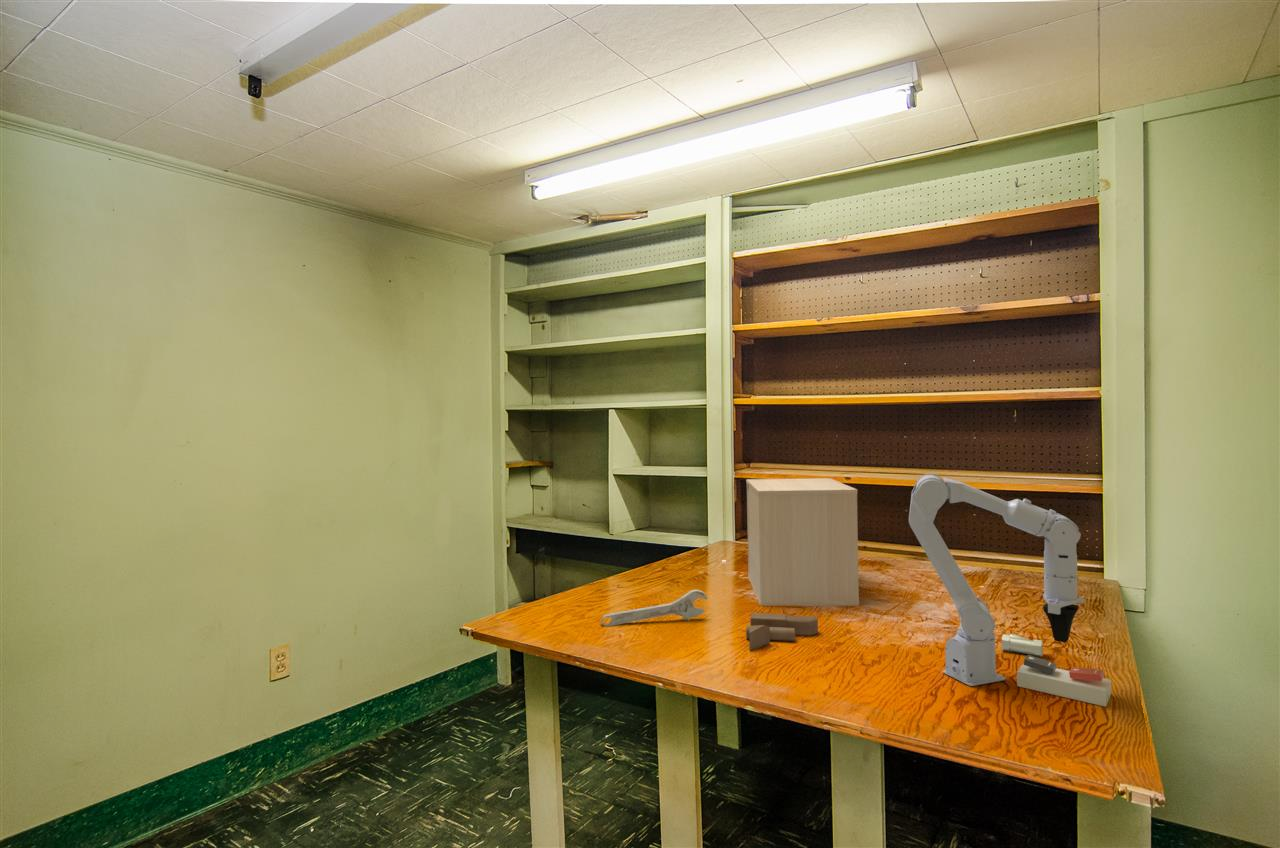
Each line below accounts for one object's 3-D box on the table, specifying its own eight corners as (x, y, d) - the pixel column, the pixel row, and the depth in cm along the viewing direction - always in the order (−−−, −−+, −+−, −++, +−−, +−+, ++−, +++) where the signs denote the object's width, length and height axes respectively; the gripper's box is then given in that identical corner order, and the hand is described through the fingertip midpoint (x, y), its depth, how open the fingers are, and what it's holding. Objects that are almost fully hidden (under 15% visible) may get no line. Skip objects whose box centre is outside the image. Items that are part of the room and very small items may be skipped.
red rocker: (1104, 675, 128) (1103, 669, 128) (1101, 681, 126) (1100, 674, 126) (1073, 673, 132) (1072, 666, 132) (1070, 678, 129) (1069, 671, 129)
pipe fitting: (1005, 646, 158) (1001, 652, 153) (1005, 629, 159) (1001, 635, 153) (1043, 652, 154) (1041, 659, 148) (1043, 636, 154) (1041, 642, 148)
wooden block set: (747, 608, 174) (817, 611, 170) (747, 629, 174) (817, 633, 170) (744, 629, 157) (821, 632, 154) (744, 652, 157) (822, 656, 154)
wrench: (603, 635, 180) (708, 615, 184) (604, 637, 178) (710, 617, 182) (599, 606, 179) (704, 587, 183) (599, 608, 178) (706, 589, 182)
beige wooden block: (747, 576, 229) (746, 479, 228) (831, 576, 227) (830, 477, 227) (760, 605, 194) (758, 490, 193) (859, 605, 192) (857, 489, 192)
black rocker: (1055, 669, 134) (1056, 663, 134) (1052, 674, 131) (1053, 668, 131) (1027, 660, 137) (1028, 654, 137) (1023, 664, 135) (1024, 658, 135)
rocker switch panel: (1111, 694, 129) (1110, 679, 129) (1106, 706, 124) (1105, 691, 124) (1024, 675, 139) (1024, 661, 139) (1017, 686, 134) (1016, 671, 134)
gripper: (1077, 584, 125) (1078, 655, 125) (1089, 570, 136) (1090, 635, 136) (1035, 579, 130) (1036, 647, 130) (1050, 565, 141) (1051, 628, 141)
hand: (1061, 640), depth 133 cm, fingers closed
